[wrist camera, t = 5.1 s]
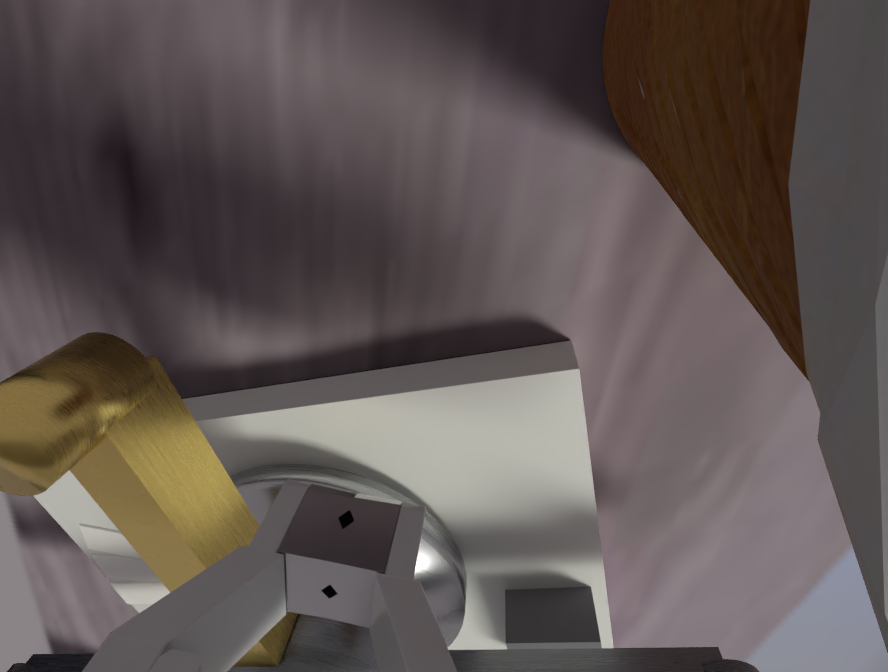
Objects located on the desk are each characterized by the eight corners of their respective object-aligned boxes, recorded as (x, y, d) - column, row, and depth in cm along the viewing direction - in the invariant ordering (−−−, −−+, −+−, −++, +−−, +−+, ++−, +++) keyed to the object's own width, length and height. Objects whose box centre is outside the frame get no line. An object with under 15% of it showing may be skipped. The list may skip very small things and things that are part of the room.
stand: (614, 675, 21) (634, 779, 18) (238, 674, 25) (200, 758, 22) (571, 340, 13) (594, 420, 10) (30, 421, 17) (-77, 496, 14)
